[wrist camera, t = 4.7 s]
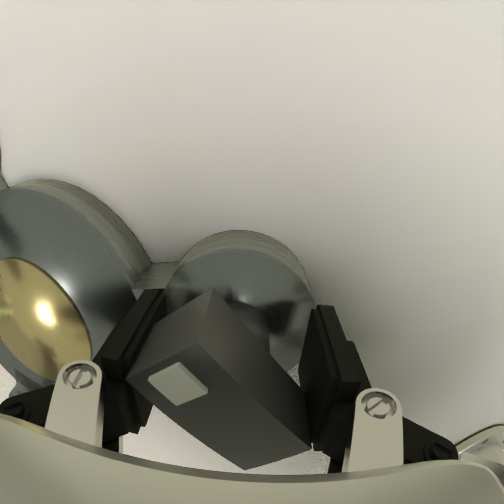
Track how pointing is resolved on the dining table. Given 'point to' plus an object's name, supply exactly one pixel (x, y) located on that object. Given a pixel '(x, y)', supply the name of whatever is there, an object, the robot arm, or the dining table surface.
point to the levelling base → (121, 280)
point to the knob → (223, 382)
